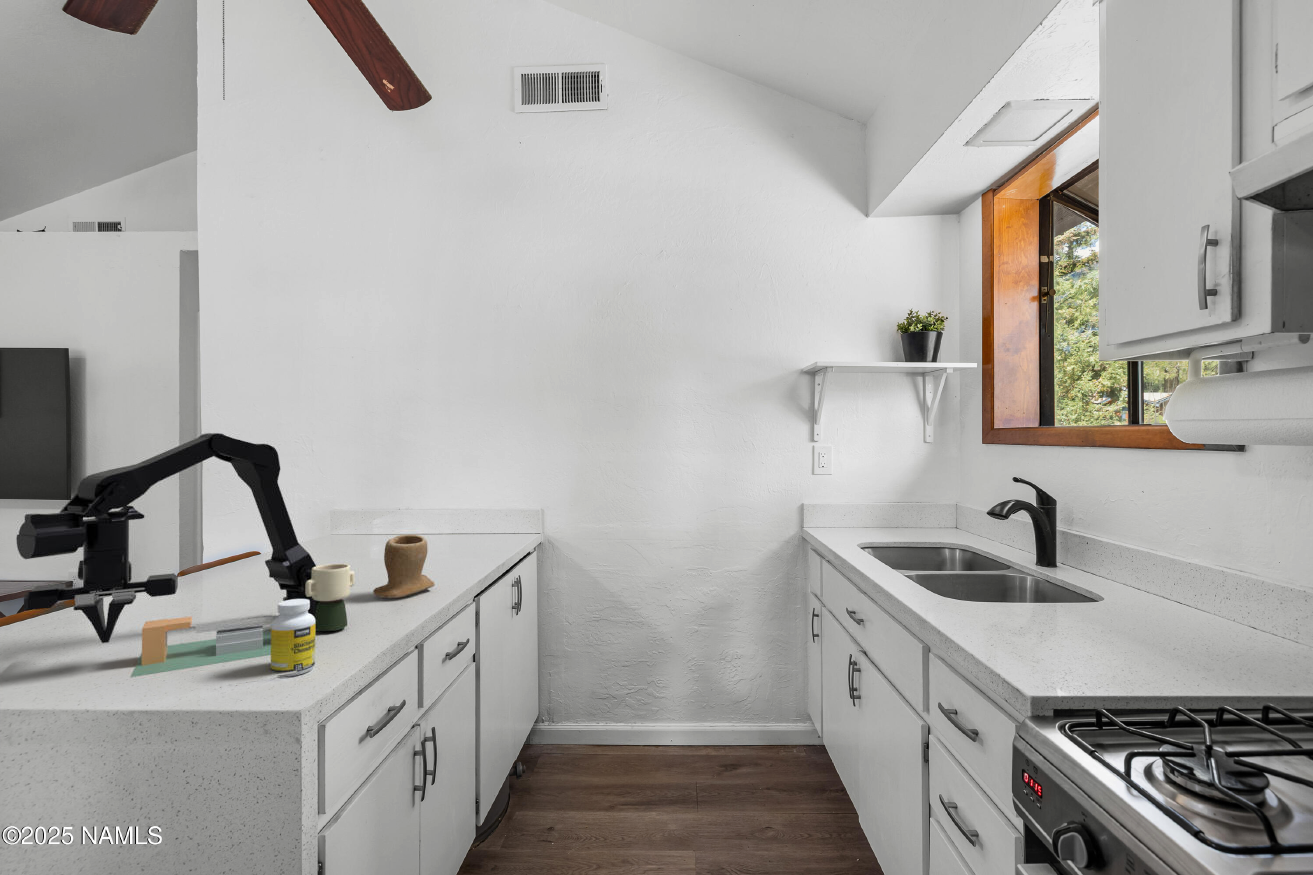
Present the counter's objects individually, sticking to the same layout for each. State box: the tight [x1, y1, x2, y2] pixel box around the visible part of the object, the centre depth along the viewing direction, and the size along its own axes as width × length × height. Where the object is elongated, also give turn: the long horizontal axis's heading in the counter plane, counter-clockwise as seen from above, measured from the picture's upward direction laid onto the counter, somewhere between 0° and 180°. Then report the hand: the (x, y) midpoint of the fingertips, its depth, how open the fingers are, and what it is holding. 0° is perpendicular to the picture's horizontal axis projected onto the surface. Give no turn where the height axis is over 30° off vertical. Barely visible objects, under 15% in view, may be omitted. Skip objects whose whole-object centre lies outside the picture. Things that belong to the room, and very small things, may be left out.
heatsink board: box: [130, 626, 271, 678], centre depth 113 cm, size 23×16×6 cm
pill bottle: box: [270, 599, 316, 678], centre depth 105 cm, size 6×6×12 cm
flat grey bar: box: [195, 614, 279, 634], centre depth 114 cm, size 14×4×1 cm, turn 124°
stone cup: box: [372, 533, 435, 599], centre depth 158 cm, size 15×12×15 cm
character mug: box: [306, 563, 356, 633], centre depth 128 cm, size 11×7×13 cm, turn 155°
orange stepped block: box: [141, 616, 193, 666], centre depth 108 cm, size 6×5×6 cm
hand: (105, 642), depth 104 cm, fingers closed
